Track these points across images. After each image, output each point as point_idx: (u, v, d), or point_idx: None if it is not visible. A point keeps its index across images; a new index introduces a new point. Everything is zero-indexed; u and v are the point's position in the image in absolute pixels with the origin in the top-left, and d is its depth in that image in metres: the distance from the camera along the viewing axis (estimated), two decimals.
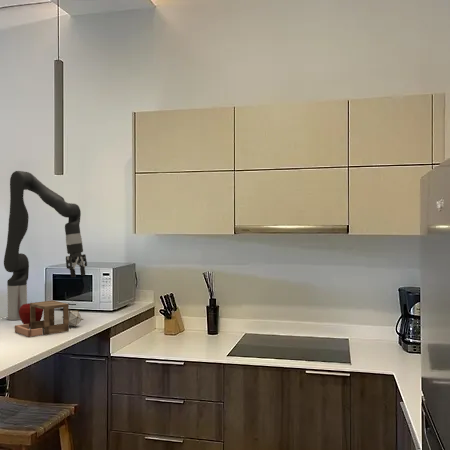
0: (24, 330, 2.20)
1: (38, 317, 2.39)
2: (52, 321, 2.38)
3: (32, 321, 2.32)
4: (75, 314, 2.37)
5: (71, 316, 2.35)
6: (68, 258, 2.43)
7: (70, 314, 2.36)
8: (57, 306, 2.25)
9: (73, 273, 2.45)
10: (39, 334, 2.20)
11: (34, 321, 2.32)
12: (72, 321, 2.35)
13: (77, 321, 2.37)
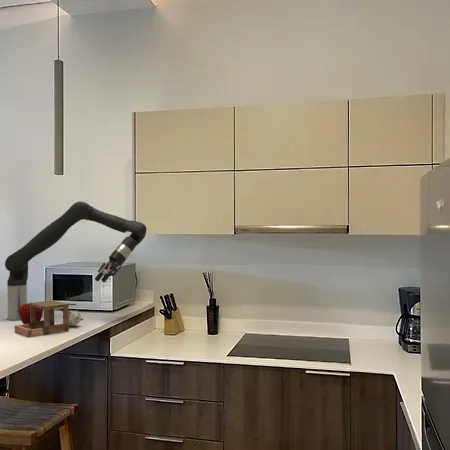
0: (24, 330, 2.20)
1: (38, 317, 2.39)
2: (52, 321, 2.38)
3: (32, 321, 2.32)
4: (75, 314, 2.37)
5: (71, 316, 2.35)
6: (118, 268, 2.48)
7: (70, 314, 2.36)
8: (57, 306, 2.25)
9: (106, 279, 2.47)
10: (39, 334, 2.20)
11: (34, 321, 2.32)
12: (72, 321, 2.35)
13: (77, 321, 2.37)
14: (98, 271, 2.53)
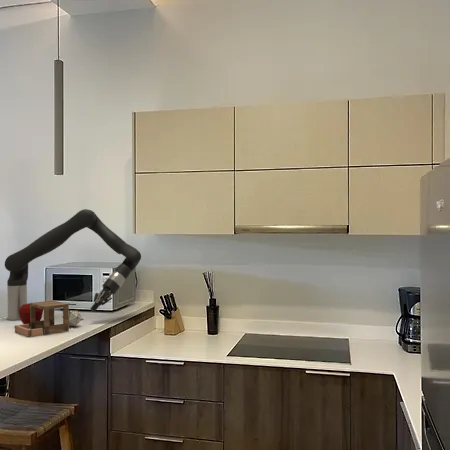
0: (24, 330, 2.20)
1: (38, 317, 2.39)
2: (52, 321, 2.38)
3: (32, 321, 2.32)
4: (75, 314, 2.37)
5: (71, 316, 2.35)
6: (108, 299, 2.45)
7: (70, 314, 2.36)
8: (57, 306, 2.25)
9: (96, 308, 2.46)
10: (39, 334, 2.20)
11: (34, 321, 2.32)
12: (72, 321, 2.35)
13: (77, 321, 2.37)
14: (94, 300, 2.49)
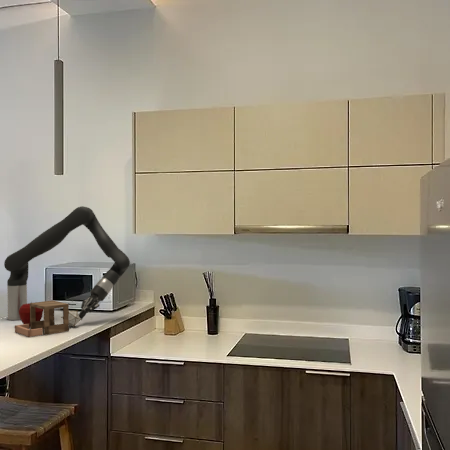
0: (24, 330, 2.20)
1: (38, 317, 2.39)
2: (52, 321, 2.38)
3: (32, 321, 2.32)
4: (74, 314, 2.36)
5: (70, 316, 2.35)
6: (96, 306, 2.41)
7: (69, 314, 2.35)
8: (57, 306, 2.25)
9: (83, 315, 2.41)
10: (39, 334, 2.20)
11: (34, 321, 2.32)
12: (71, 321, 2.35)
13: (76, 321, 2.36)
14: (82, 307, 2.44)
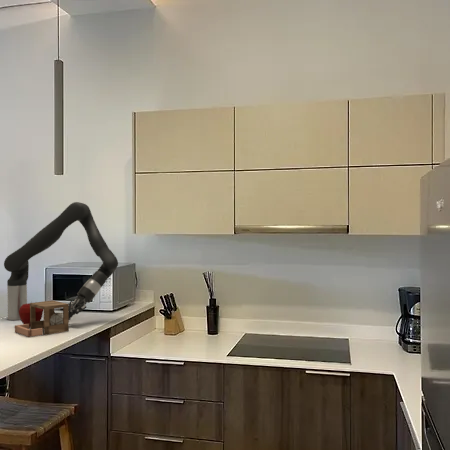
0: (24, 330, 2.20)
1: (38, 317, 2.39)
2: None
3: (32, 321, 2.32)
4: (61, 316, 2.32)
5: (58, 318, 2.30)
6: (83, 307, 2.36)
7: (56, 316, 2.30)
8: (57, 306, 2.25)
9: (70, 317, 2.37)
10: (39, 334, 2.20)
11: (34, 321, 2.32)
12: (59, 323, 2.30)
13: None
14: (68, 309, 2.39)
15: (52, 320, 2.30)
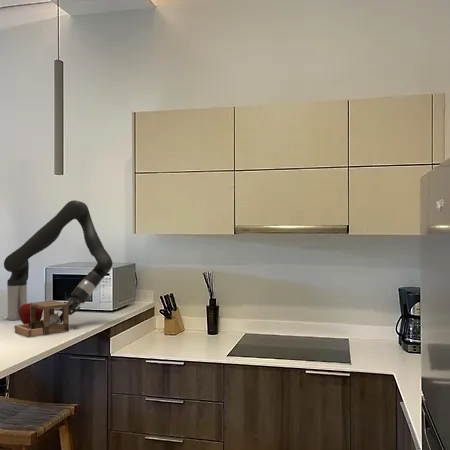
0: (24, 330, 2.20)
1: (38, 317, 2.39)
2: None
3: (32, 321, 2.32)
4: (55, 317, 2.29)
5: (51, 319, 2.28)
6: (76, 308, 2.34)
7: (50, 317, 2.28)
8: (57, 306, 2.25)
9: None
10: (39, 334, 2.20)
11: (34, 321, 2.32)
12: (52, 324, 2.28)
13: None
14: (62, 310, 2.37)
15: None
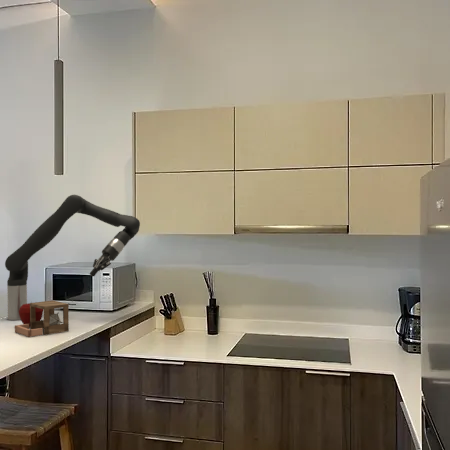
0: (24, 330, 2.20)
1: (38, 317, 2.39)
2: None
3: (32, 321, 2.32)
4: (55, 317, 2.29)
5: (51, 319, 2.28)
6: (107, 264, 2.48)
7: (50, 317, 2.28)
8: (57, 306, 2.25)
9: (95, 273, 2.49)
10: (39, 334, 2.20)
11: (34, 321, 2.32)
12: (52, 324, 2.28)
13: None
14: (93, 266, 2.52)
15: None
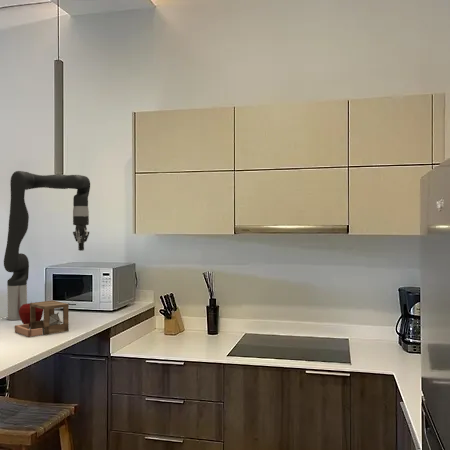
0: (24, 330, 2.20)
1: (38, 317, 2.39)
2: None
3: (32, 321, 2.32)
4: (55, 317, 2.29)
5: (51, 319, 2.28)
6: (87, 234, 2.49)
7: (50, 317, 2.28)
8: (57, 306, 2.25)
9: None
10: (39, 334, 2.20)
11: (34, 321, 2.32)
12: (52, 324, 2.28)
13: None
14: (76, 240, 2.53)
15: None
